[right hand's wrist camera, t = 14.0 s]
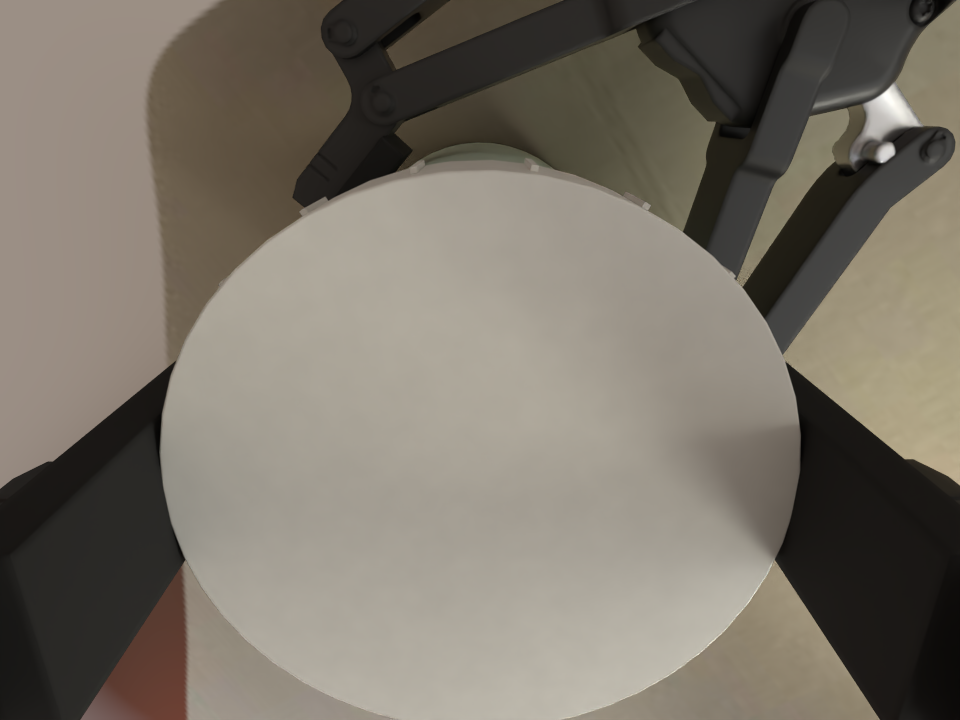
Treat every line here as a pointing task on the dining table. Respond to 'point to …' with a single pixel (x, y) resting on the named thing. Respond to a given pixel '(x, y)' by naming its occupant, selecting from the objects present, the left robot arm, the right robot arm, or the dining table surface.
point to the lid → (480, 445)
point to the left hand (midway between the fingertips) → (393, 398)
